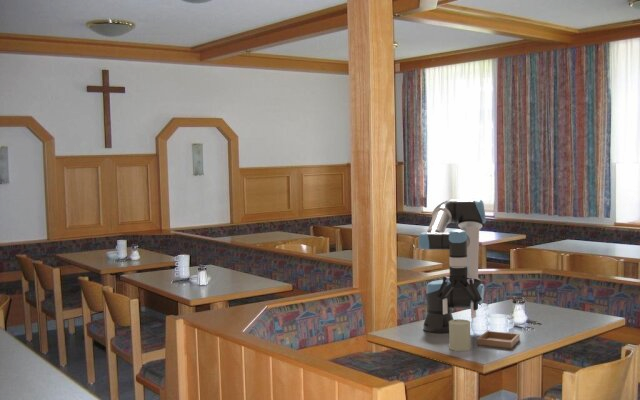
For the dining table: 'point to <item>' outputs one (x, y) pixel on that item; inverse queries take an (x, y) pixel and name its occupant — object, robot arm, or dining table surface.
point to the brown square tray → (498, 339)
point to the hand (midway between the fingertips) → (459, 315)
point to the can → (459, 335)
